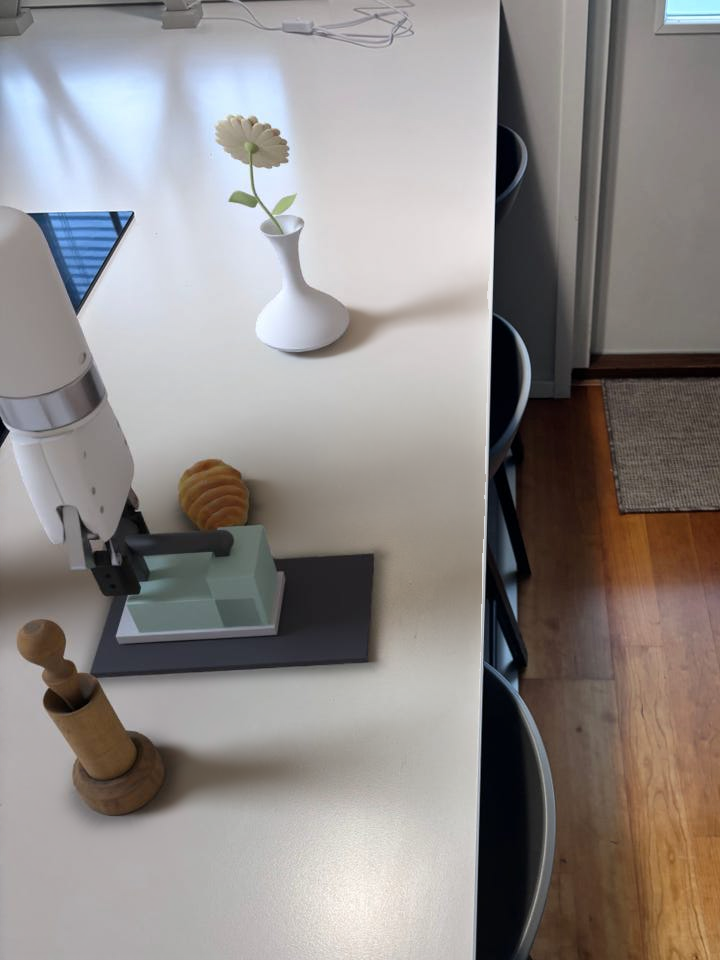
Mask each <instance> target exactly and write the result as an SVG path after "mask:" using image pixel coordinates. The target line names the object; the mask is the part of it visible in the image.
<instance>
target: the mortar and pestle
mask: <svg viewBox="0 0 720 960" xmlns="http://www.w3.org/2000/svg"><path fill="white" fill-rule="evenodd" d="M15 642H16V648H17V651H18V653H19V654H20V656H21V657H22V658H23V659H24V660H26V661H27V662H28V663H31V664H34V665H36V666H39V667H41V668H43V671H42V673H41V679H42V681H43V683H44V684H45V685H46V686H47V687H48V688H47V689H46V691H45V692H44V694H43V698H42V706H43V708H44V710H45V711H46V713H47V714H48V716H49V717H50V719H51V721H53V723H54V725H55V726H56V728H57V729H58V730H59V732H60V733H61V735H62V737H63V738H64V740H65V741H66V743H67V744H68V745H69V747H70V748H71V750H72V752H73V753H74V755H75V756H76V759H75V761H74V763H73V767H72V772H71V773H72V782H73V785H74V787H75V789H76V791H77V792H78V794H79V795H80V796H81V798H82V800H83V801H84V803H85V804H86V805H87V806H88V807H89V808H90V809H91V810H92V811H94V812H96V813H97V814H101V815H105V816H120V815H126V814H128V813H131V812H135V811H136V810H139V809H140V808H141V807H143V806H145V805H146V804H147V803H149V802H150V801H151V800H152V799H153V798H154V797H155V795H156V794H157V793H158V791H159V790H160V788H161V786H162V785H163V782H164V779H165V764H164V761H163V758H162V757H161V755H160V753H159V752H158V750H157V747H156V746H155V745H154V743H153V742H152V741H151V740H150V738H149V737H148V736H146V735H144V734H142V733H141V732H138V731H135V730H129V729H127V730H126V728H125V727H124V725H123V723H122V721H121V719H120V718H119V716H118V713H117V712H116V711H115V709H114V708H113V706H112V704H111V702H110V700H109V698H108V696H107V694H106V692H105V691H104V689H103V687H102V686H101V684H100V682H99V680H98V679H97V677H94V676H93V675H91V674H90V673H88V672H78V670H77V666H76V664H75V663H74V662H73V660H70V659H68V658H64V656H65V651H66V647H67V646H66V645H67V637H66V634H65V631H64V629H63V628H62V627H61V626H60V625H59V624H58V623H57V622H55V621H53V620H51V619H47V618H35V619H32V620H29V621H28V622H26V623H24V624H23V625H22V626H21V627H20V629H19V630H18V632H17V634H16V641H15Z"/></svg>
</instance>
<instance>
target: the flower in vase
mask: <svg viewBox="0 0 720 960" xmlns="http://www.w3.org/2000/svg"><path fill="white" fill-rule="evenodd" d="M213 128H214V129H215V130H214V135H215V136H216V137H214V141H215V143H217V145H220V146H221V147H222V150H223V151H224V152H225V153H227V154H230V157H231V158H233V159H234V160H236V161H237V160H238V161H240V162H241V163H242V164H244V165H248V166H249V177H250V178H249V179H250V186H251V191H252V194H253V195H252V194H249V193H247V192H245V191H242V190H235V191H234V192H232V193H231V194H230V196H229V198H228V201H227V202H228V203H234V204H239V205H242V206H245V207H248V208H252V209H255V208H256V207H257V205H258V204H259V205H260V207H261V208H262V210H263V211H264V212H265V213H266V214H267V216H268V218H267V219H265V220H264V221H263V222H261V223H260V225H259V228H258V229H259V231H260V233H261V234H262V235H263V236H264V237H266V239H268V240H269V242H270V243H271V245H272V247H273V248H274V251H275V255H276V257H277V260H278V262H279V266H280V270H281V274H282V287H281V289H280V291H279V293H277V294H276V295H275V296H274V297H273V298H272V299H271V300H270V301H269V302H268V303H267V304H266V305H265V306H264V308H262V310H261V311H260V313H259V314H258V317H257V319H256V322H255V335H256V336H257V338H258V339H259V340H260V341H261V342H262V343H263V344H265V345H266V346H267V347H269V348H271V349H273V350H276V351H279V352H287V353H303V352H309V351H314V350H317V349H320V348H324V347H326V346H329V345H331V344H332V343H334V342H336V341H337V340H339V338H341V337H342V336H343V335H344V333H345V332H346V330H347V328H348V326H349V324H350V320H351V317H350V312H348V309H347V308H346V306H345V305H344V304H343V302H341V301H339V299H337V298H335V297H334V296H332V295H330V293H329V294H328V293H326V292H324V291H322V290H320V289H317V288H314V287H313V286H310V285H309V284H308V283H307V282H306V281H305V277H304V275H303V273H302V268H301V260H300V254H299V253H300V252H299V251H300V250H299V243H300V236H301V233H302V231H303V229H304V227H305V220H304V219H303V218H302V217H300V216H297V215H294V214H293V215H292V214H283V213H284V212H286V211H287V210H288V209H289V208H290V207H291V206H292V205H293V203H294V202H295V199H296V197H297V195H298V192H296V193H295V194H292V195H287V196H284V197H281V199H279V200H278V202H277V203H276V205H275V206H274V207H273V209H272V210H271V212H270V210H269V209H268V208H267V207H266V206H265V204H264V203H263V201H262V200H261V199H260V197H259V195H258V194H257V191H256V187H255V181H254V180H255V179H254V169H253V167H255V168H257V169H261V168H265V169H267V170H269V169H270V170H271V169H272V168H273V167H274V168H279V167H280V166H281V164H288V163H289V159H288V157H290V153H289V151H290V150H291V147H290V146H289V145H288V141H287V139H285V138H282V137H281V136H280V135H281V134H282V133H281V131H280V129H279V128H275V127H273V128H272V125H271V124H270V123H268V122H263V123H261V122H259V119H258V117H256V115H249V116H248V117H247V118H245V117H244V116H243V115H241V114H237V113H236V114H235V115H232V114H227V115H226V119H224V120H222V119H219V120H217V124H214V127H213Z"/></svg>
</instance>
